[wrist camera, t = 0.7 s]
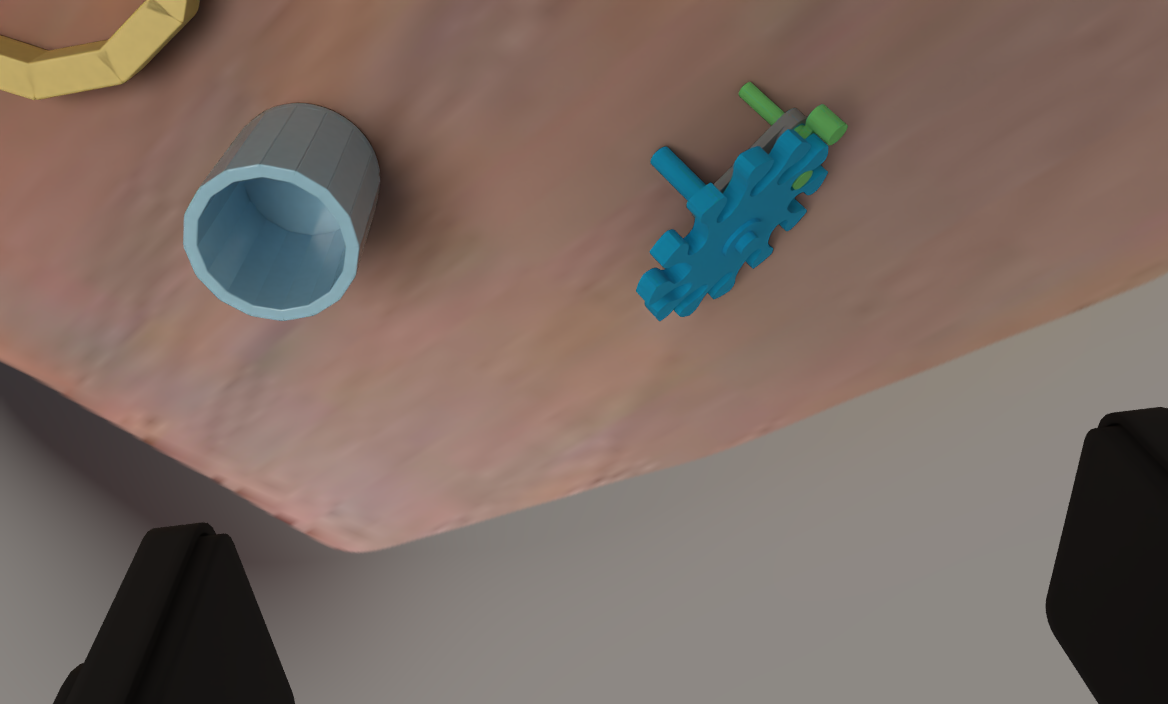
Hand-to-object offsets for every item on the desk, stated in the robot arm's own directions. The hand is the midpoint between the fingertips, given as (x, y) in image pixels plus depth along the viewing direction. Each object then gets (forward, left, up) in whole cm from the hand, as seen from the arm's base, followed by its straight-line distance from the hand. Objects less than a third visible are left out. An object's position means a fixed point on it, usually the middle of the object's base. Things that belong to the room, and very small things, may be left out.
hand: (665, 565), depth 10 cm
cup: (+5, -11, -32) cm, 34 cm away
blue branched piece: (+9, +7, -32) cm, 34 cm away
